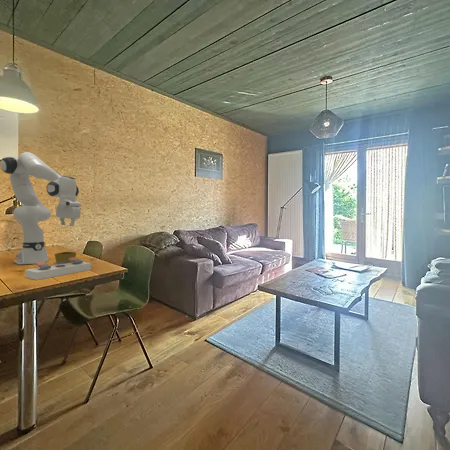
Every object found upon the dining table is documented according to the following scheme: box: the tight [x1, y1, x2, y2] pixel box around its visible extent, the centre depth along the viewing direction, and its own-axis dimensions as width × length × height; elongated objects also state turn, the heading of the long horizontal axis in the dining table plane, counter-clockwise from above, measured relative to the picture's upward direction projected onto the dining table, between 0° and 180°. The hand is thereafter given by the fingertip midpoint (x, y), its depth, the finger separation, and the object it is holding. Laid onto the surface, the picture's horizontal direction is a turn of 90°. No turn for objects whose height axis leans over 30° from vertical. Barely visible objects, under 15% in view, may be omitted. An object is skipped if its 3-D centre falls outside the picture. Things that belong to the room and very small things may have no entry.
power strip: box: [24, 261, 92, 281], centre depth 153 cm, size 12×34×4 cm, turn 150°
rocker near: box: [34, 262, 52, 269], centre depth 143 cm, size 8×4×1 cm, turn 60°
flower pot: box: [54, 251, 77, 265], centre depth 170 cm, size 9×9×9 cm
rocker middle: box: [52, 260, 68, 266], centre depth 151 cm, size 8×4×1 cm, turn 60°
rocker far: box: [69, 257, 84, 264], centre depth 159 cm, size 8×4×1 cm, turn 60°
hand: (67, 225), depth 160 cm, fingers open, 8 cm apart
